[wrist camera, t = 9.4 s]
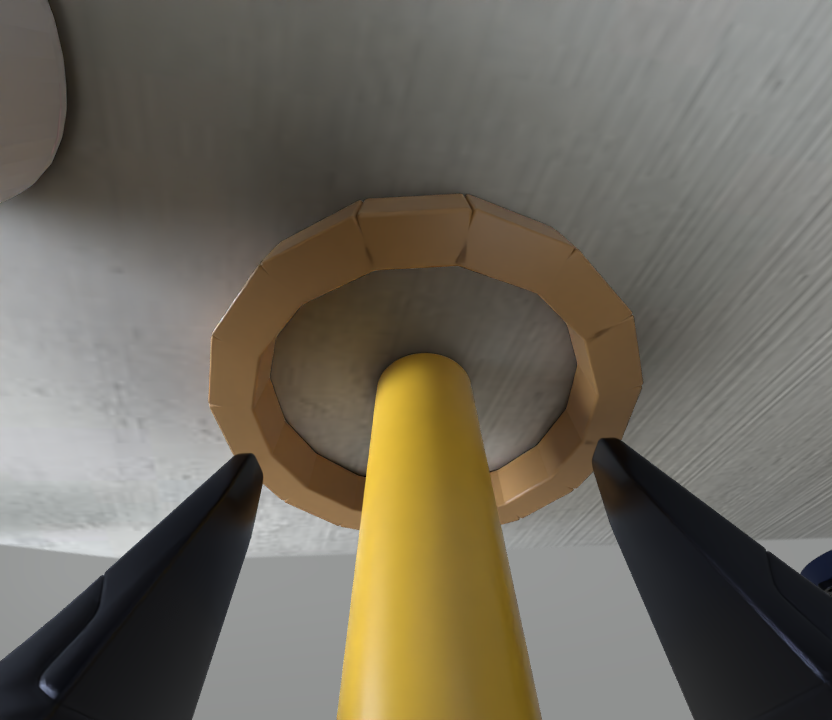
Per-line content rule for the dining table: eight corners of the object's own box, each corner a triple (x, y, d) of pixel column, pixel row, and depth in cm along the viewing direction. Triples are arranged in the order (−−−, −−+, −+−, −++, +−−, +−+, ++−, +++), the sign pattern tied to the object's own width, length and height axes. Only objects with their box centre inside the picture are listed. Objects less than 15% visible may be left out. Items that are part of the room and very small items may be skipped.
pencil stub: (490, 387, 12) (626, 876, 4) (425, 436, 13) (445, 880, 6) (421, 333, 10) (445, 881, 3) (358, 393, 12) (267, 883, 4)
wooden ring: (686, 380, 12) (719, 414, 10) (430, 533, 17) (431, 568, 15) (406, 56, 7) (405, 46, 6) (167, 404, 12) (139, 438, 11)
